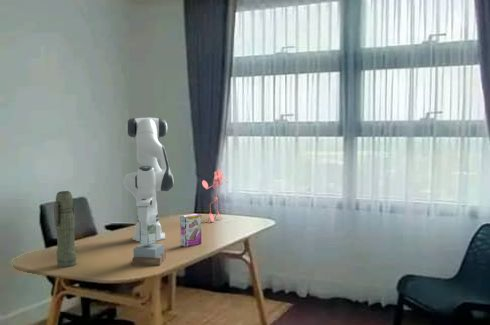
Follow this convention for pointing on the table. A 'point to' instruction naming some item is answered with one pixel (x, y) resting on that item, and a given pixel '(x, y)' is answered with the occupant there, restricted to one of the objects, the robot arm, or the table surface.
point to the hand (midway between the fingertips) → (147, 228)
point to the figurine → (218, 181)
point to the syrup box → (148, 231)
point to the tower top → (148, 250)
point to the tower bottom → (149, 260)
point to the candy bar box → (190, 230)
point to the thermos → (65, 229)
